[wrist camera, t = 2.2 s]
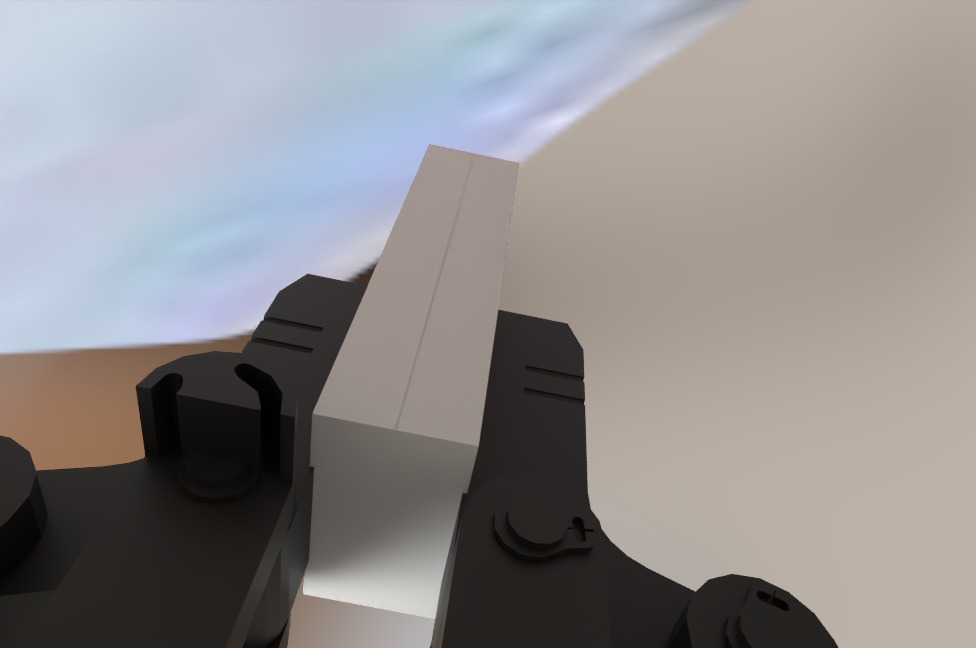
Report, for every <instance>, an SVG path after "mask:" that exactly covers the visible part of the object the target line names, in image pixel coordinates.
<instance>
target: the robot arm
mask: <svg viewBox="0 0 976 648" xmlns="http://www.w3.org/2000/svg"><path fill="white" fill-rule="evenodd" d="M518 168H519V163H517V162H512V161H507V160H502V159H498V158H493V157H488V156H483V155H478V154H473V153H469V152H464V151H459V150H454V149H449V148H445V147H440V146H435V145H430V144H429V146H428V149H427V151H426V153H425V156H424V158H423V160H422V162H421V165H420V167H419V169H418V172H417V174H416V176H415V179H414V181H413V183H412V185H411V188H410V190H409V192H408V195H407V197H406V199H405V202H404V204H403V206H402V208H401V211H400V213H399V215H398V218H397V220H396V222H395V225H394V227H393V229H392V231H391V234H390V236H389V238H388V241H387V243H386V245H385V248H384V250H383V252H382V255H381V257H380V259H379V261H378V264H377V266H376V268H375V271H374V273H373V276H372V278H371V280H370V282H369V284H368V286H365V285H360V284H355V283H351V282H346V281H341V280H336V279H331V278H326V277H321V276H316V275H311V274H307V275H305V276H303V277H302V278H300V279H299V280H297V281H295V282H294V283H292V284H291V285H289V286H287V287H286V288H284V289H282V290H281V291H279V293H278V294H277V296H276V298H275V299H274V301H273V303H272V304H271V306H270V307H269V309H268V311H267V312H266V314H265V315H264V320H263V321H261V322H260V324H259V325H258V327H257V328H256V330H255V332H254V333H253V335H252V338H251V342H250V341H249V342H248V343H247V345H246V346H245V348H244V349H243V351H242V353H232V352H219V351H213V352H207V353H201V354H195V355H189V356H183V357H181V358H179V359H176V360H174V361H172V362H170V363H167V364H165V365H163V366H161V367H158V368H156V369H155V370H154V371H152V372H151V373H150V374H149V375H148V376H147V377H146V378H144V379H143V380H142V381H141V382H140V383H139V384H138V385H136V391H137V398H138V406H139V413H140V420H141V427H142V435H143V442H144V449H145V457H144V458H143V459H140V460H137V461H134V462H130V463H124V464H118V465H111V466H104V467H87V468H72V469H55V470H39V471H36V469H35V466H34V464H33V461H32V458H31V455H30V452H29V451H27V450H26V449H25V448H23V447H22V446H21V445H19V444H18V443H17V442H15V441H14V440H13V439H11V438H9V437H4V436H0V648H287V645H288V637H289V629H290V616H291V609H292V606H293V603H294V600H295V598H296V595H297V592H298V589H299V586H300V584H301V581H302V578H303V575H304V587H303V594H306V595H311V596H317V597H322V598H328V599H332V600H338V601H344V602H348V603H353V604H359V605H364V606H369V607H375V608H380V609H385V610H391V611H396V612H401V613H407V614H412V615H417V616H422V617H427V618H433V619H435V624H434V630H433V636H432V642H431V646H430V648H838V646H837V644H836V643H835V641H834V639H833V638H832V637H831V635H830V634H829V633H828V631H827V630H826V629H825V627H824V626H823V625H822V623H821V622H820V621H819V619H818V618H817V617H816V615H815V614H814V613H813V612H812V611H811V610H809V609H808V608H807V607H806V606H805V605H803V604H802V603H801V602H799V600H797V599H796V598H795V597H794V596H792V595H791V594H790V593H789V592H787V591H785V590H783V589H781V588H779V587H777V586H774V585H772V584H770V583H768V582H766V581H764V580H762V579H760V578H754V577H748V576H741V575H735V574H730V575H726V576H722V577H717V578H713V579H709V580H708V581H707V582H706V583H704V585H702V586H701V587H700V588H699V589H698V590H697V591H696V592H695V591H693V590H691V589H689V588H686V587H685V586H683V585H681V584H678V583H676V582H674V581H672V580H670V579H668V578H666V577H664V576H662V575H660V574H658V573H656V572H654V571H652V570H650V569H648V568H646V567H645V566H643V565H641V564H640V563H638V562H636V561H635V560H633V559H632V558H630V557H628V556H627V555H626V554H624V552H622V551H621V550H620V549H619V548H618V547H617V546H616V545H614V544H613V543H612V542H611V541H610V539H609V538H608V537H607V536H606V534H605V533H604V532H603V530H602V529H601V525H600V522H599V520H598V518H597V517H596V516H595V514H594V513H593V512H592V511H591V508H590V503H589V497H588V487H587V457H586V425H585V424H586V423H585V422H586V421H585V405H584V401H585V392H584V391H585V389H584V382H583V379H584V358H583V357H584V356H583V348H582V347H581V345H580V344H579V342H578V341H577V339H576V337H575V335H574V334H573V332H572V330H571V329H570V327H569V325H568V324H566V323H562V322H556V321H552V320H547V319H542V318H537V317H532V316H527V315H522V314H516V313H512V312H507V311H502V310H498V307H499V300H500V293H501V286H502V279H503V272H504V266H505V258H506V252H507V245H508V238H509V231H510V224H511V216H512V209H513V203H514V196H515V189H516V181H517V175H518Z"/></svg>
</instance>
